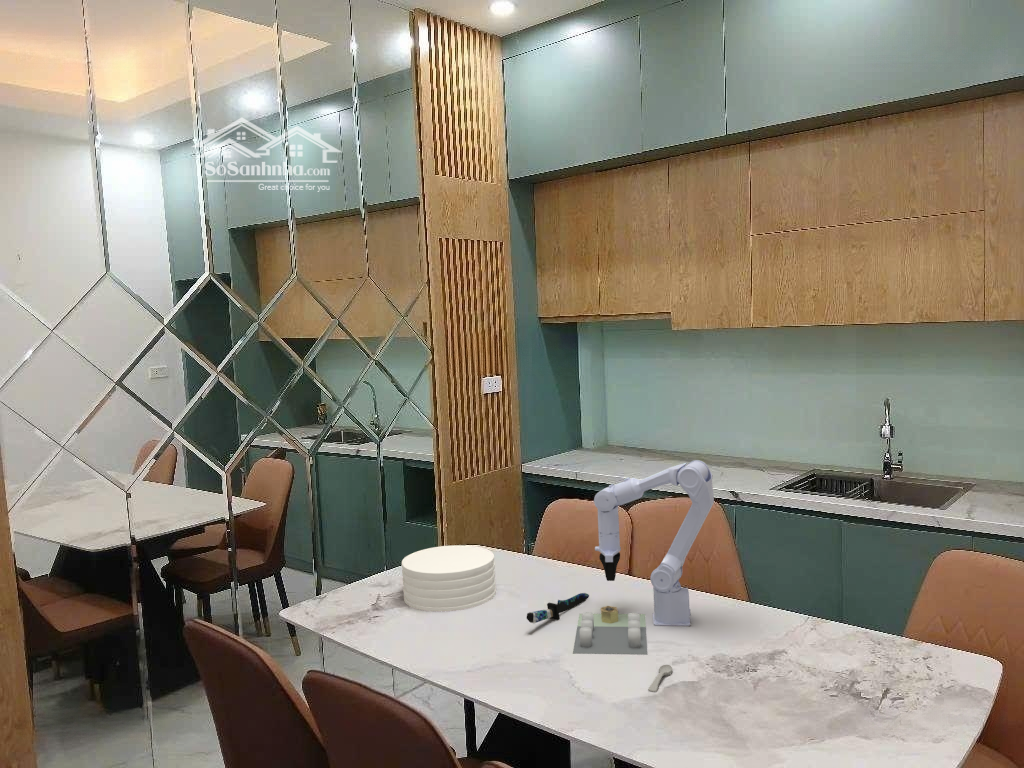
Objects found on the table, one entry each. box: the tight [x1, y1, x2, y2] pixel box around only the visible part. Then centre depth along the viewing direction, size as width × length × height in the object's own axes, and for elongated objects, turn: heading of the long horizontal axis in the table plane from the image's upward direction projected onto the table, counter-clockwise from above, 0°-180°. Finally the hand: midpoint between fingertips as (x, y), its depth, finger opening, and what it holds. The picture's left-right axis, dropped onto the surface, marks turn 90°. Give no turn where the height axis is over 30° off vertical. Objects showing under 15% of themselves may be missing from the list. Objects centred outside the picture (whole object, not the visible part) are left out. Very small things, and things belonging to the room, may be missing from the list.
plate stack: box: [401, 544, 497, 613], centre depth 234 cm, size 28×28×12 cm
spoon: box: [647, 664, 673, 693], centre depth 172 cm, size 3×12×2 cm, turn 151°
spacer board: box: [572, 612, 649, 656], centre depth 199 cm, size 18×26×4 cm
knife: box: [526, 592, 590, 624], centre depth 213 cm, size 31×3×5 cm, turn 140°
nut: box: [600, 605, 619, 623], centre depth 208 cm, size 4×5×3 cm
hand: (610, 580), depth 213 cm, fingers closed
